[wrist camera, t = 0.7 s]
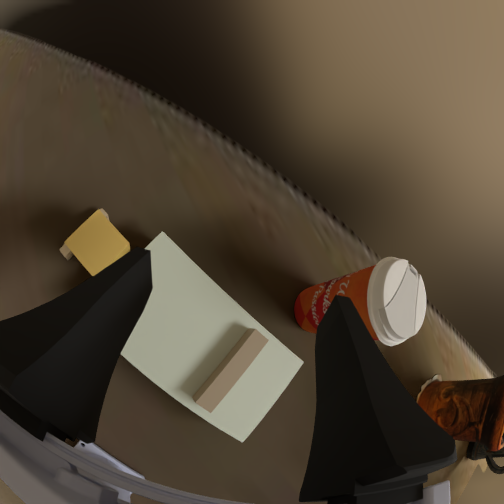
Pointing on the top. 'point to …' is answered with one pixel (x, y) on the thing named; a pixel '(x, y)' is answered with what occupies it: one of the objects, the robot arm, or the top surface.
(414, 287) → the paper cup
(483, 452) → the beer stein
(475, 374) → the top surface
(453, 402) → the vessel
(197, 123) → the top surface
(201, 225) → the top surface
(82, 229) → the yellow block
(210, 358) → the lid
